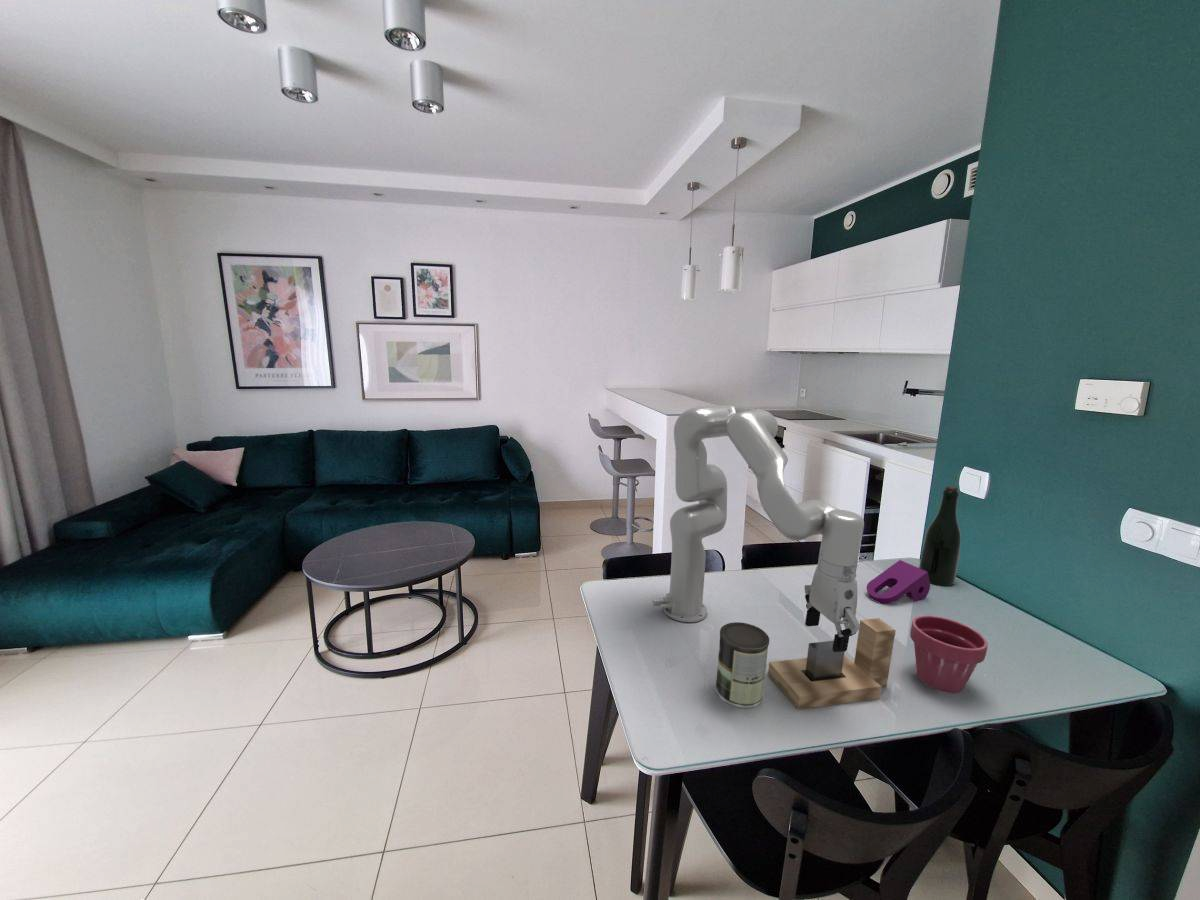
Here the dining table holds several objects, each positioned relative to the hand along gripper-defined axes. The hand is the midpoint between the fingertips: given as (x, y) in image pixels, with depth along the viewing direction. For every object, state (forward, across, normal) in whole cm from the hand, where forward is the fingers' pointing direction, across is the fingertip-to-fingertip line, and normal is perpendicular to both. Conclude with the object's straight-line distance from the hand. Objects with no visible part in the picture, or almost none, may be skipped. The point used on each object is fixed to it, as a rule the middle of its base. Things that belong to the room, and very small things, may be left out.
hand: (824, 637), depth 110 cm
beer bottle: (+12, +42, -76) cm, 87 cm away
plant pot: (+11, -4, -30) cm, 32 cm away
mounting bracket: (+12, +34, -51) cm, 63 cm away
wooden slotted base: (+12, -1, -3) cm, 12 cm away
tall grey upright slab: (+12, -1, -1) cm, 12 cm away
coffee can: (+12, 0, +20) cm, 23 cm away
